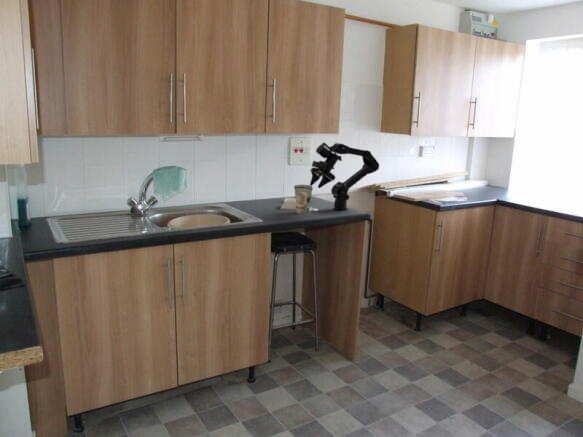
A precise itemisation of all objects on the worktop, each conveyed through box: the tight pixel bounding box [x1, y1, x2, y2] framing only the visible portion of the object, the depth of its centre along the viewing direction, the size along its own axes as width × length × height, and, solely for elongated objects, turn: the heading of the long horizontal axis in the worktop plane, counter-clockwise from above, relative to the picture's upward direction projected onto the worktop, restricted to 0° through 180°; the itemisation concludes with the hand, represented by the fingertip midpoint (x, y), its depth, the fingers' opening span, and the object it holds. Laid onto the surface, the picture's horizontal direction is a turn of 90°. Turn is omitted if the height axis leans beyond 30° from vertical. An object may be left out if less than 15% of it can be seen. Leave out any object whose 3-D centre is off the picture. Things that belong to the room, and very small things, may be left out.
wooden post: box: [295, 192, 308, 214], centre depth 265 cm, size 5×5×11 cm
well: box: [280, 197, 296, 211], centre depth 279 cm, size 12×12×4 cm
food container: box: [293, 184, 314, 204], centre depth 298 cm, size 12×6×10 cm, turn 66°
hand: (314, 186), depth 266 cm, fingers open, 9 cm apart
